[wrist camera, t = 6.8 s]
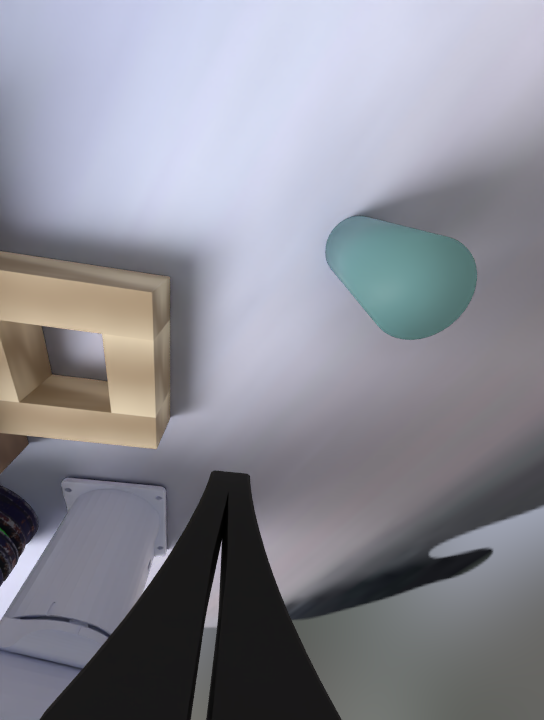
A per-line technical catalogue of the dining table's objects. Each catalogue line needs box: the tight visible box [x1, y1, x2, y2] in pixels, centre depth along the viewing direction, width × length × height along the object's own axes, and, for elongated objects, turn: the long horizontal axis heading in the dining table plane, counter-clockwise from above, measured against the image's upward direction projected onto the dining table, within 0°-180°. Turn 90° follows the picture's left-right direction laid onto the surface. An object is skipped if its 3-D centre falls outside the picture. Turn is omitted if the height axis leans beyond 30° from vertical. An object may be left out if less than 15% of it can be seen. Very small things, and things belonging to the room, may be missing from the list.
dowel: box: [325, 216, 477, 340], centre depth 13 cm, size 3×3×8 cm
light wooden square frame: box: [0, 251, 170, 449], centre depth 17 cm, size 10×10×3 cm
